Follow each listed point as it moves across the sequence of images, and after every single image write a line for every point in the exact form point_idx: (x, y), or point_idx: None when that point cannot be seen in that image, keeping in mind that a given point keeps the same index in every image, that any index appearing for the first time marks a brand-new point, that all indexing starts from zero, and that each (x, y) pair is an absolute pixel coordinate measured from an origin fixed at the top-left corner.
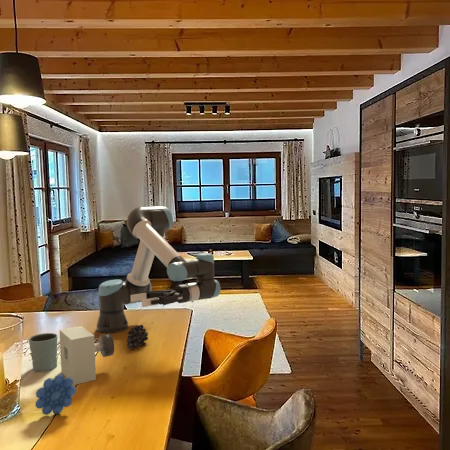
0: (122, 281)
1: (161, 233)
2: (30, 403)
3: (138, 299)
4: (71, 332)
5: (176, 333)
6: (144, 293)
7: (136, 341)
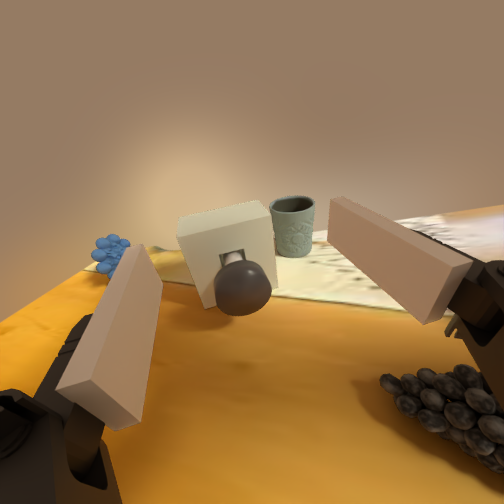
0: None
1: None
2: (178, 254)
3: (361, 259)
4: (227, 211)
5: None
6: (427, 254)
7: (420, 410)
